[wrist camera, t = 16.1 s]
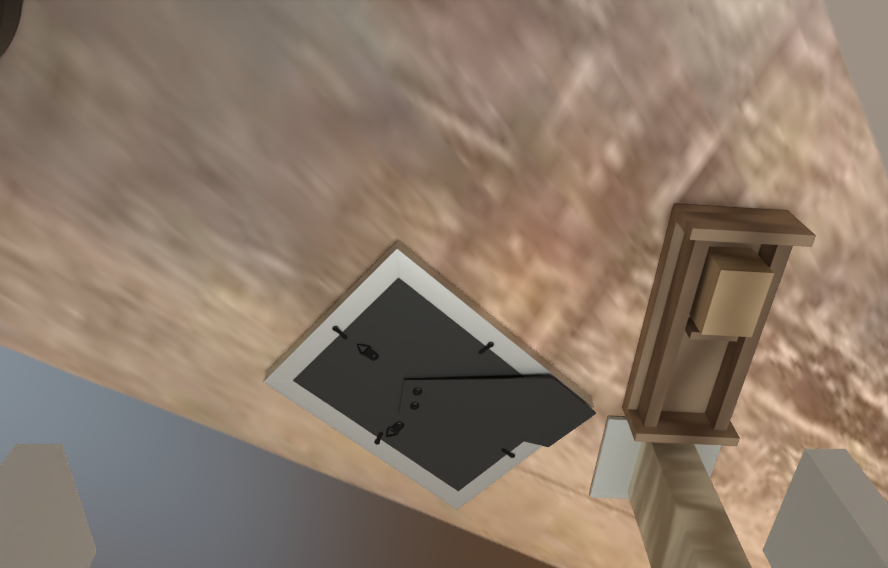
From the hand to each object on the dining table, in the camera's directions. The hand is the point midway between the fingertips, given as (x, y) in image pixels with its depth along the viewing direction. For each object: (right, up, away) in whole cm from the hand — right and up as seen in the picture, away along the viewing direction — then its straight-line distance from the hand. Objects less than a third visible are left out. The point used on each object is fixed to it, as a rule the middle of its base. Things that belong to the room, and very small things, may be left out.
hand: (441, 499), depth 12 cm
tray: (+19, +1, +38) cm, 43 cm away
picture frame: (-1, -4, +42) cm, 43 cm away
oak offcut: (+20, +4, +35) cm, 41 cm away
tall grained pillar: (+18, -11, +45) cm, 50 cm away
